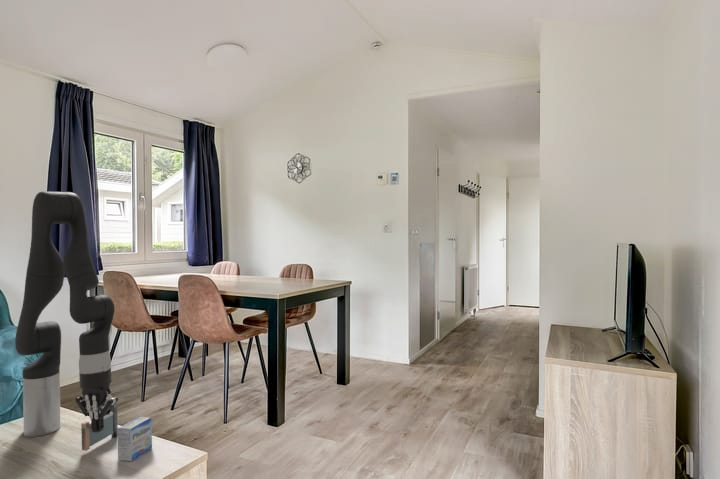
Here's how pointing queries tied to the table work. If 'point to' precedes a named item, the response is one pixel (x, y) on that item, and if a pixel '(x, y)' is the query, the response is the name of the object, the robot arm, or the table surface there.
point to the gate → (93, 437)
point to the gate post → (114, 421)
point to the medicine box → (134, 438)
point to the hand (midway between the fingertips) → (97, 431)
